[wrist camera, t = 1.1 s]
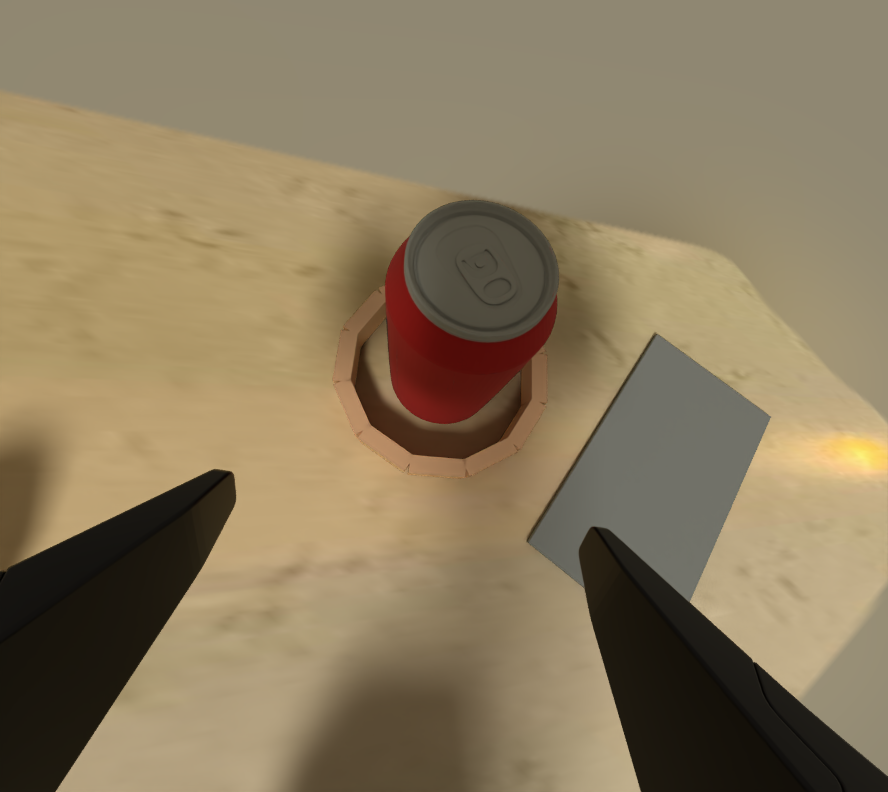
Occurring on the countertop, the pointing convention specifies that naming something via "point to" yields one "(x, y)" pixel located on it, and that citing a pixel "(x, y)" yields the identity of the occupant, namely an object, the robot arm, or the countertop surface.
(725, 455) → the mat
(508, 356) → the beverage can
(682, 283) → the countertop surface
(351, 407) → the segmented polygon ring
